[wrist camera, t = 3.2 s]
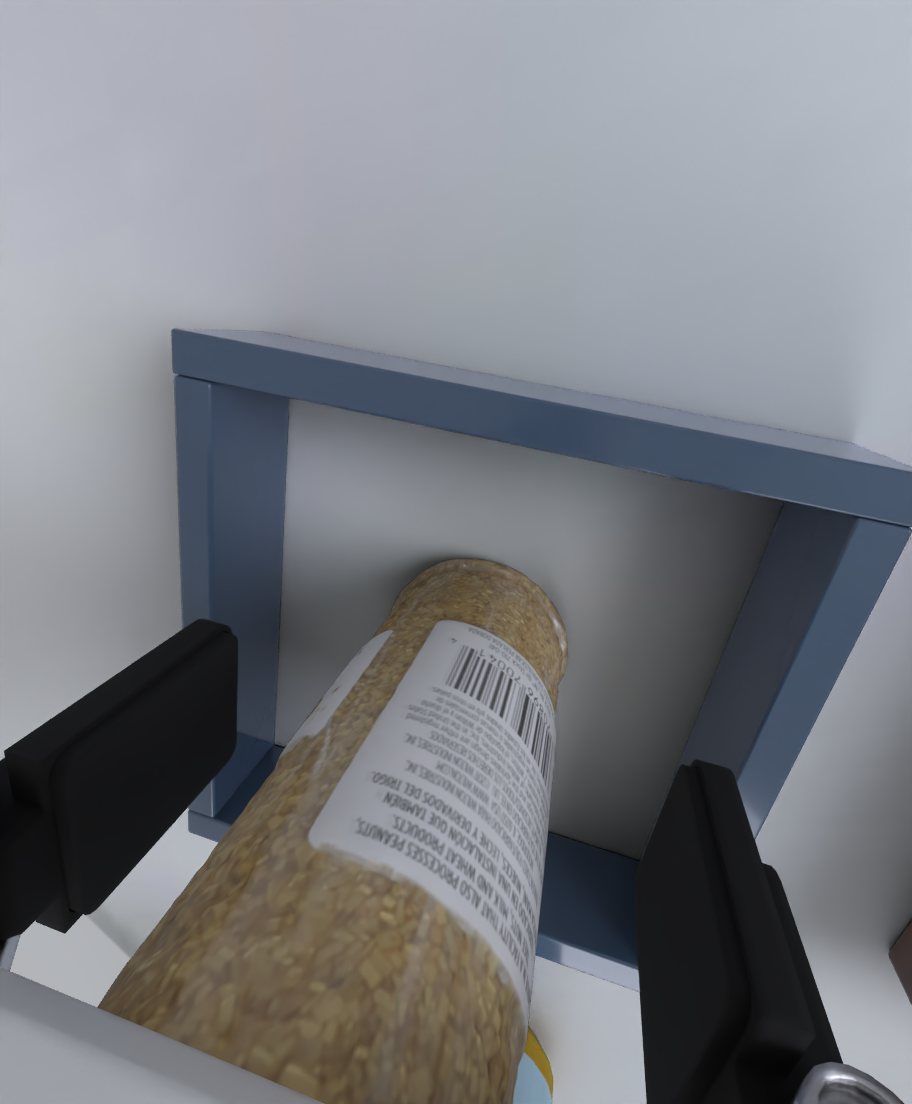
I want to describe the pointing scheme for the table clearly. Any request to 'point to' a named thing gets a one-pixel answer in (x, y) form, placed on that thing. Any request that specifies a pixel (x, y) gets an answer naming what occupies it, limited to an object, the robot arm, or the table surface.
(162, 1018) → the sprinkles bottle
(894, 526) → the blue square frame
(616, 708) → the table surface
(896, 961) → the counter board
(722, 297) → the table surface
